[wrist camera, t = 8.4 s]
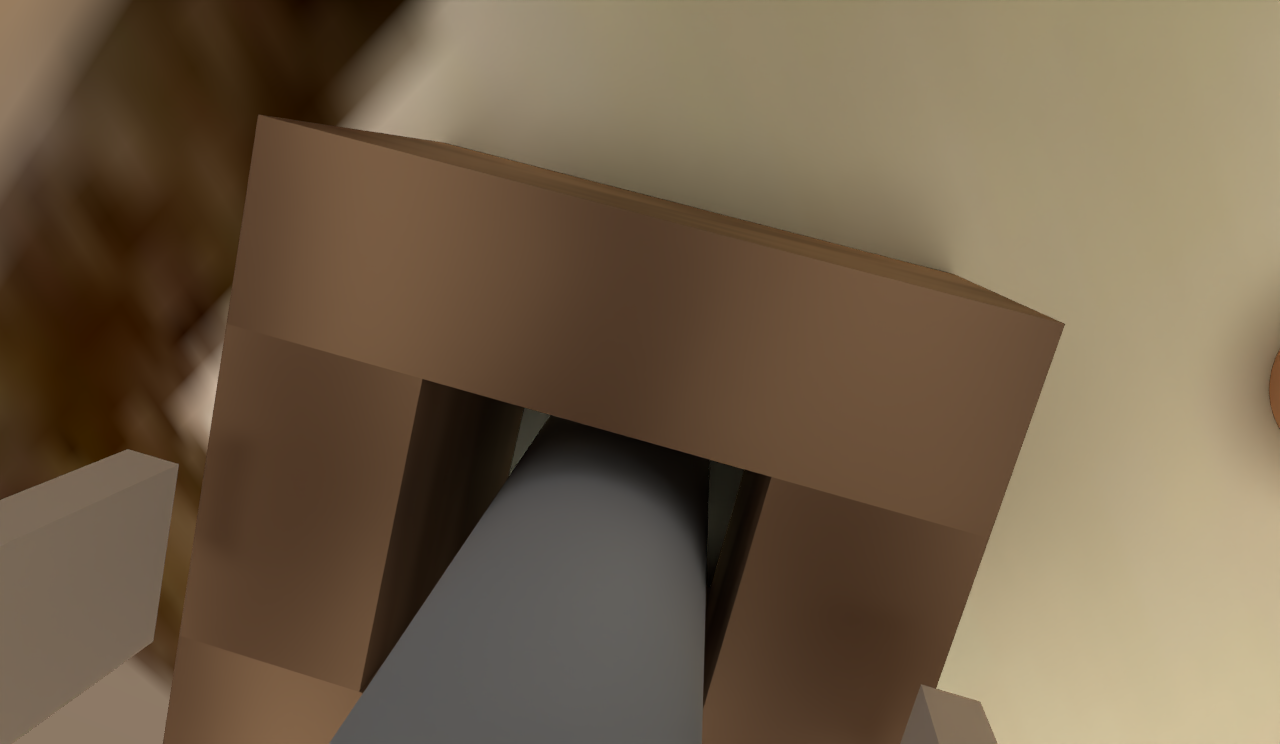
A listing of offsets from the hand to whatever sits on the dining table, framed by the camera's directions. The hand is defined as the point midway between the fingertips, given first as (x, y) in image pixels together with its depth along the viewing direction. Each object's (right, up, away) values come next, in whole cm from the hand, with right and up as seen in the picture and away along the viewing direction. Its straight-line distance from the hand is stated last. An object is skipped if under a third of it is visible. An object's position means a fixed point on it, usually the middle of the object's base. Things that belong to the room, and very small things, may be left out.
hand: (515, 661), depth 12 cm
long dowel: (+1, +2, +10) cm, 10 cm away
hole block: (+1, +2, +10) cm, 10 cm away
